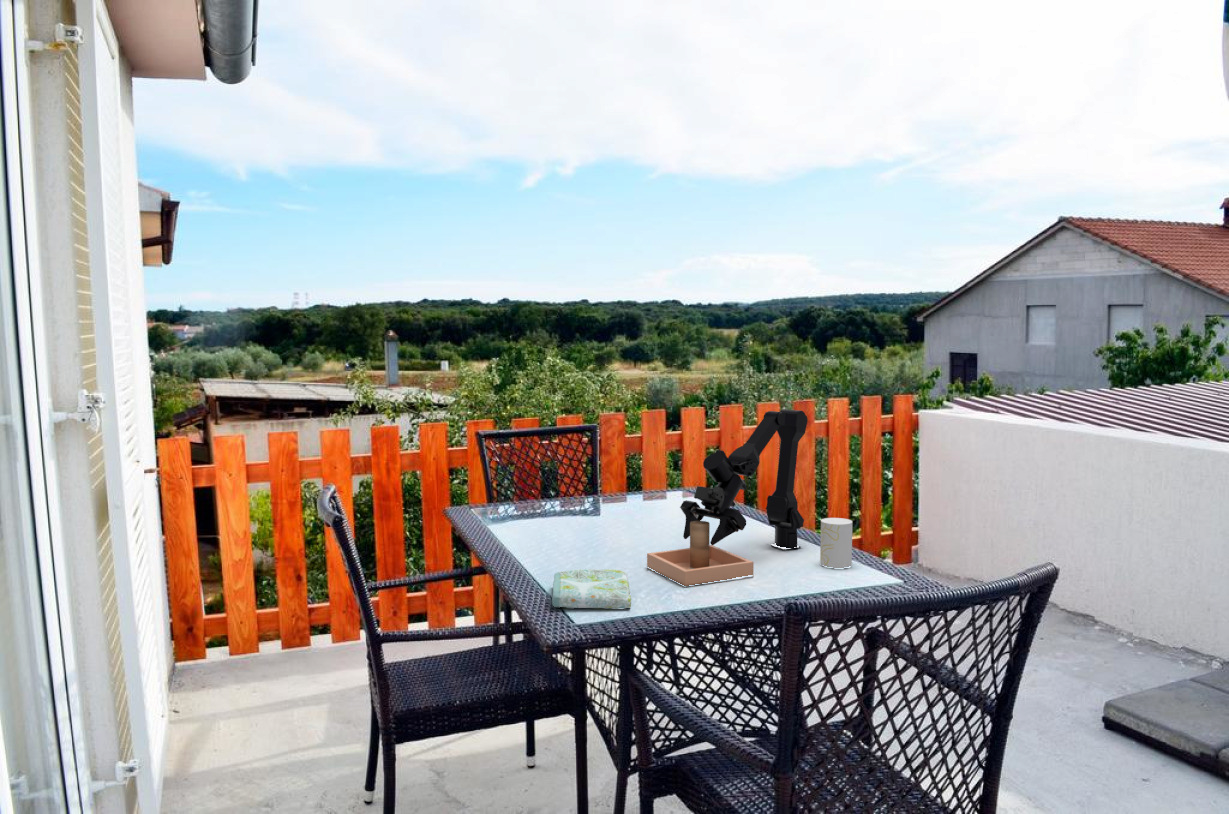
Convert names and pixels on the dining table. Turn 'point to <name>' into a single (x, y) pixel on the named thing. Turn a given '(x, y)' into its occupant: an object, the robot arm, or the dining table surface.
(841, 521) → the light grey cylinder
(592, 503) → the dining table surface
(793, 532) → the robot arm
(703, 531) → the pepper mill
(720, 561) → the bin
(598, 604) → the towel
